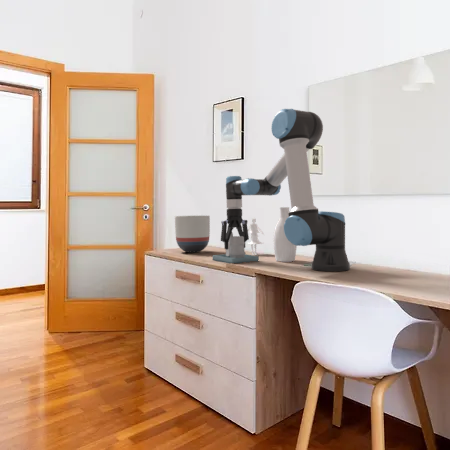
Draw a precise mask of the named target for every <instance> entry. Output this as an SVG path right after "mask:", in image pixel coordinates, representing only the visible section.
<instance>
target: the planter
mask: <svg viewBox="0 0 450 450" xmlns="http://www.w3.org/2000/svg"><path fill="white" fill-rule="evenodd" d="M210 220H211V219H210V215H206V214H205V215H203V214H201V215H175V216H174V229H175V232H174V234H175V240H176V244H177V246H178V247H179V248H180V250H182V251H184V252H185V253H191V252H193V253H200V252H202V251H203V250H205V249H206V248H207V246H208V245H209V242H210V236H211V235H210V234H211V229H210V228H211V227H210V225H211V224H210V223H211V222H210Z"/></svg>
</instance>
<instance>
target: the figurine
mask: <svg viewBox="0 0 450 450" xmlns="http://www.w3.org/2000/svg"><path fill="white" fill-rule="evenodd" d="M251 220H252V221H251V223H250V225H249V227H248V228H247V229H248V232H249V233H250V239H251V241H250V242H247V243H246V244H249V245H250V246H251V255H254V256H258V252H257V245H262V244H264V242H261V241H260V240H259V239H258V237H259V235H258V233H261V234H262V235H263V236H265V234H264V232H263V231H262V229H261V228H260V227H259V226H258V224H257V223H256V218H255V217H253V218H251Z"/></svg>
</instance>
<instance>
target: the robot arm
mask: <svg viewBox="0 0 450 450" xmlns="http://www.w3.org/2000/svg"><path fill="white" fill-rule="evenodd" d="M323 131H324V125H323V121H322V119H321V118H320V116H319V114H316V113H314V112H312V111H306V110H300V109H294V108H282V109H280V110H279V111H278V112H277V113H276V114H275V116H274V118H273V119H272V122H271V134H272V135H273V136H274V138H275V139H277V140H278V142H279V147H280V148H282V149H283V152H284V153H283V154H282V155H281V157H280V158H279V159H278V161H277V162H276V163H275V165H274V166H273V167H272V168H271V169H270V171H269V172H268V173H267V175H266V176H265V177H264V178H262V179H256V178H251V177H250V178H249V177H248V178H243V179H242V177H241V175H229V176H227V177H226V179H225V180H226V181H225V195H226V220H221V234H220V242H223V243H224V250H225V254H226V256H230V243H229V239H230V236H231V233H233V230H234V228H236V230H237V233H238V236H243V237H244V242H245V244H244V249H246V242H247V241H249V238H250V235H249V231H248V229H249V228H248V220H247V219H243V209H242V208H243V196H276V195H278V194H279V193H280V190H281V188H282V186H281V185H282V183H283V182H284V181H285V179H286V178H287V181H288V182H287V183H288V191H289V197H290V199H289V200H290V206H291V208H290V209H289V212H288V215H289V217H288V218H287V219H286V220H285V224H284V233H285V236H286V238H287V239H288V240H289V241H290V242H291V243H292V244H294V245H297V246H302V247H305V246H306V247H307V246H313V245H314V246H315V252H314V254H313V258H312V259H313V260H312V262H311V269H312V270H314V271H321V272H344V271H349V270H350V269H351V264H350V261H349V259H348V256H347V255H348V254H347V252H346V220H345V219H346V218H345V215H344V214H343V213H340V212H336V211H323V210H321V211H319V208H318V207H317V206H315V204H314V198H313V189H312V183H311V175H310V168H309V161H308V153H307V152H308V151H309V150H313V149H314V148H315V147H316V146H317V144H318V142H319V141H320V139H321V138H322V134H323Z"/></svg>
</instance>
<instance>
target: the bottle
mask: <svg viewBox="0 0 450 450" xmlns="http://www.w3.org/2000/svg"><path fill="white" fill-rule="evenodd" d="M289 211H290V207H288V206H287V207H284V206H283V207H279V219H278V221H277V222H276V224H275V228H274V231H273V238H272V240H273V241H272V242H273V251H274V252H273V253H274V257H275V261H276V262H278V261H281V262H280V263H290V262H291V263H292V261H293V262H295V260H296V256H297V255H296V254H297V248H298V247H297V245H294V244H292V243H291V242H290V241H289V240H288V239H287V238H286V236H285V233H284V224H285V220H286V219H287V218H288V217H289V215H288V212H289Z"/></svg>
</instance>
